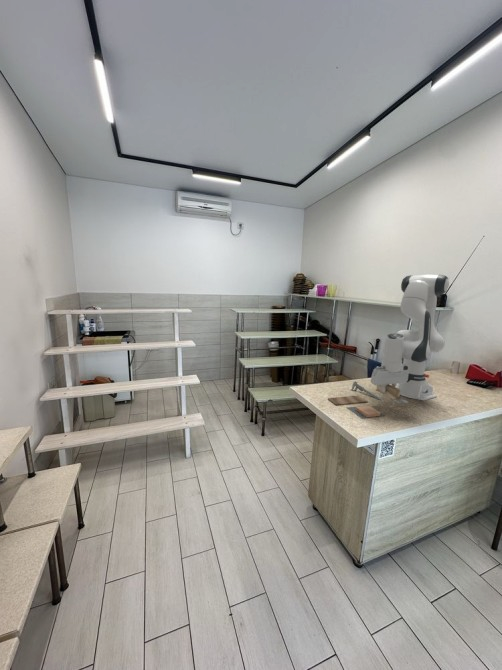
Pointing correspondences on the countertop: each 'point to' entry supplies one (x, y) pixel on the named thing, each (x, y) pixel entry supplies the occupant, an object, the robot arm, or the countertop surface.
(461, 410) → the countertop surface
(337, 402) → the board
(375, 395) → the caliper
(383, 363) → the robot arm
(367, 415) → the tile
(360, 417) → the mat
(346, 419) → the countertop surface
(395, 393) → the scraper
